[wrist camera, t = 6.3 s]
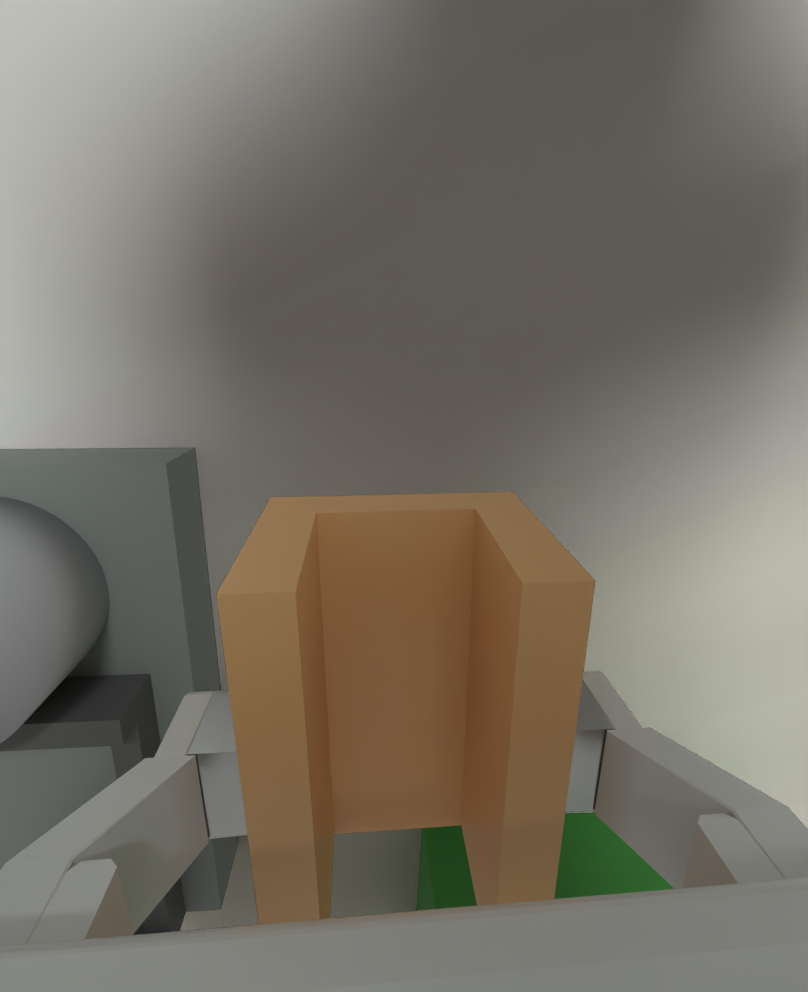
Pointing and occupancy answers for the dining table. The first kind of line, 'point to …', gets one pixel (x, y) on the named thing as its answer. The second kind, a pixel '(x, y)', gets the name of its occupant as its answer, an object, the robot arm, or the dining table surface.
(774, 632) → the dining table surface
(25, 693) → the panel with grey ball
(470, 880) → the hardback book
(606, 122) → the dining table surface
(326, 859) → the chute
